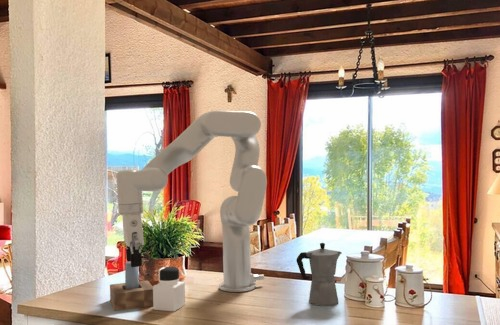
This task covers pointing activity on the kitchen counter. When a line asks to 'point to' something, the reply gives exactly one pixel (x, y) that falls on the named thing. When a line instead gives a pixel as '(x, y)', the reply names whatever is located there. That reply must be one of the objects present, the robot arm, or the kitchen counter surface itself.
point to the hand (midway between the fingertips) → (134, 263)
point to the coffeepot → (321, 275)
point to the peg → (131, 276)
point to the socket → (131, 296)
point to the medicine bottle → (168, 290)
